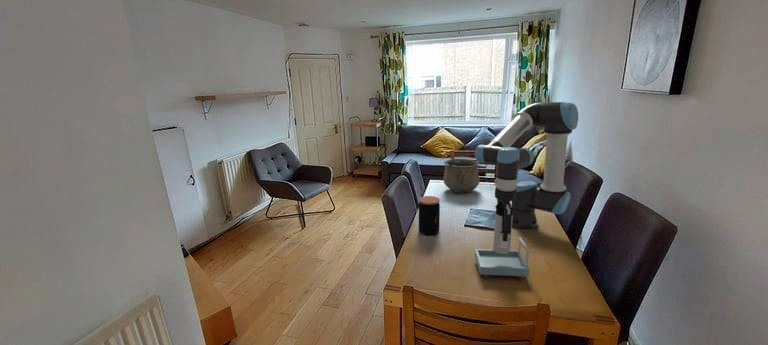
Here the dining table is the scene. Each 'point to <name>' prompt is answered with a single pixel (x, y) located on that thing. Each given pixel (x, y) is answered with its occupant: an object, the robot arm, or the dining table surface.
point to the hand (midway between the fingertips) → (501, 243)
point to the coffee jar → (429, 215)
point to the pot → (461, 175)
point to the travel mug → (497, 234)
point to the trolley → (503, 262)
